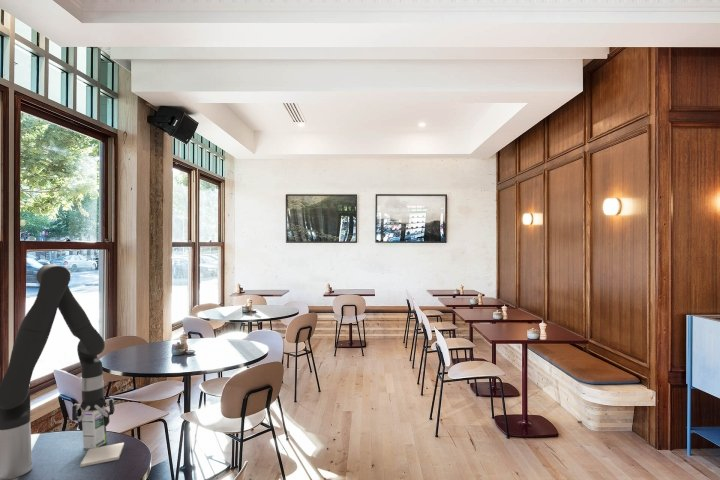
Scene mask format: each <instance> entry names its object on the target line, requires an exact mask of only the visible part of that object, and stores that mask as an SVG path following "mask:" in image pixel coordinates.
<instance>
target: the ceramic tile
mask: <svg viewBox="0 0 720 480" xmlns="http://www.w3.org/2000/svg"><path fill="white" fill-rule="evenodd" d="M124 447H125V442H119V443H114V444H108V445H104V446H103V445H102V446H99V447H97V448H92V449H88V450H87V452H86V454H85V456H84V457H83V459H82V460H81V462H80V468H81V467H87V466H92V465H98V464H101V463H106V462H107V463H108V462H112V461H118V460H120V458H121V455H122V452H123V450H124Z"/></svg>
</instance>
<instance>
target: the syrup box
mask: <svg viewBox="0 0 720 480" xmlns="http://www.w3.org/2000/svg"><path fill="white" fill-rule="evenodd" d="M104 408H106V407H105V406H104V407H102V409H104ZM83 412H84V411H81V414H82V413H83ZM104 417H105V416H104V415H103V414H102V413H100V412H99V410H90V411H87V412H86V413H85V416H84V417H83V418H82V430H81V431H82V443H83V444H82V445H83V447H82V448H84V449H88V450H89V449H92V448H97V447H102V446H103V445H104V444H107V442H108V440H107V426H105V419H104Z"/></svg>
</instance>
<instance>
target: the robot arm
mask: <svg viewBox="0 0 720 480" xmlns="http://www.w3.org/2000/svg"><path fill="white" fill-rule="evenodd" d="M71 277H72V276H71V272H70V271H69V269H68V268H67V267H65V266H62V265H61V264H60V265H59V264H55V263H48V264H44V265H42V266H41V267H39V269H38V270H37V271H36V281H37V283H38V284H39V289H38V291H37V295H36V298H35V300H34V302H33V305H32V306H31V308H30V309H29V310H28V311H27V313H26V314H25V316H24V317H23V320H22V321H21V323H20V325H19V328H18V331H17V333H16V337H15V338H14V342H13V346H12V350H11V354H10V359H9V361H8V362H9V363H8V367H7V369H6V372H5V373H4V375H3V378H2V380H1V382H0V480H11V479H15V478H19V477H21V476H23V475H25V474H27V473H29V472H30V471H31V470H32V469H33V458H32V454H33V453H32V452H33V451H32V435H31V434H32V428H31V389H30V388H31V387H30V384H31V379H32V375H33V372H34V370H35V367H36V365H37V363H38V361H39V359H40V357H41V355H42V353H43V351H44V349H45V346H46V344H47V341H48V340H49V336H50V334H51V331H52V327H53V324H54V321H55V319H56V315H57V311H58V310H59V312H60V314H61V315H62V318H63V320H64V322H65V324H66V326H67V327H68V329H69V332H71V334H72V335H73V337H74V338H77V339H78V340H79V341H78V343H77V346H76V349H77V355H78V359H79V364H80V366H81V383H80V385H81V386H80V387H81V390H80V391H81V403H76V402H75V403H74V404H73V405H72V406H71V408H72V409H71V413H72V415H71V420H72V421H73V422H77V427H78V430H79V431H83V430H82V418H83V417H84V416H85V413H86V412H87V411H90V410H99V412H100V413H102V414H103V415H104V416H105V417H104V419H105V426H106V427H107V426H108V425H109V423H110V416H111V415H114V413H115V400H114V398H113V397H110V398H107V399H106V398H105V386H104V385H105V381H104V374H103V373H104V371H103V362H102V361H101V359H100V358H98V356H99V355H100V354H102V353H103V352H104V350H105V346H106V345H105V341H104V339H103V337H102V335H101V334H100V333H99V332H98V331H97V329H96V328H95V327H94V326H93V325H92V323H91V321H90V319H89V317H88V315H87V313H86V311H85V310H84V308H83V307H82V305H80V302H78V300H77V299H76V298H75V296H74V295H73V293H72V291H71V289H70V287H69V284H70V281H71ZM105 404H107V406H109V410H108V409H107V408H106V407H105ZM102 407H105V408H104V409H102ZM79 409H82V410H83V411H82V412H83V413H82V412H81V415H80V416H79V415H78V412H79V411H78V410H79Z"/></svg>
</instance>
